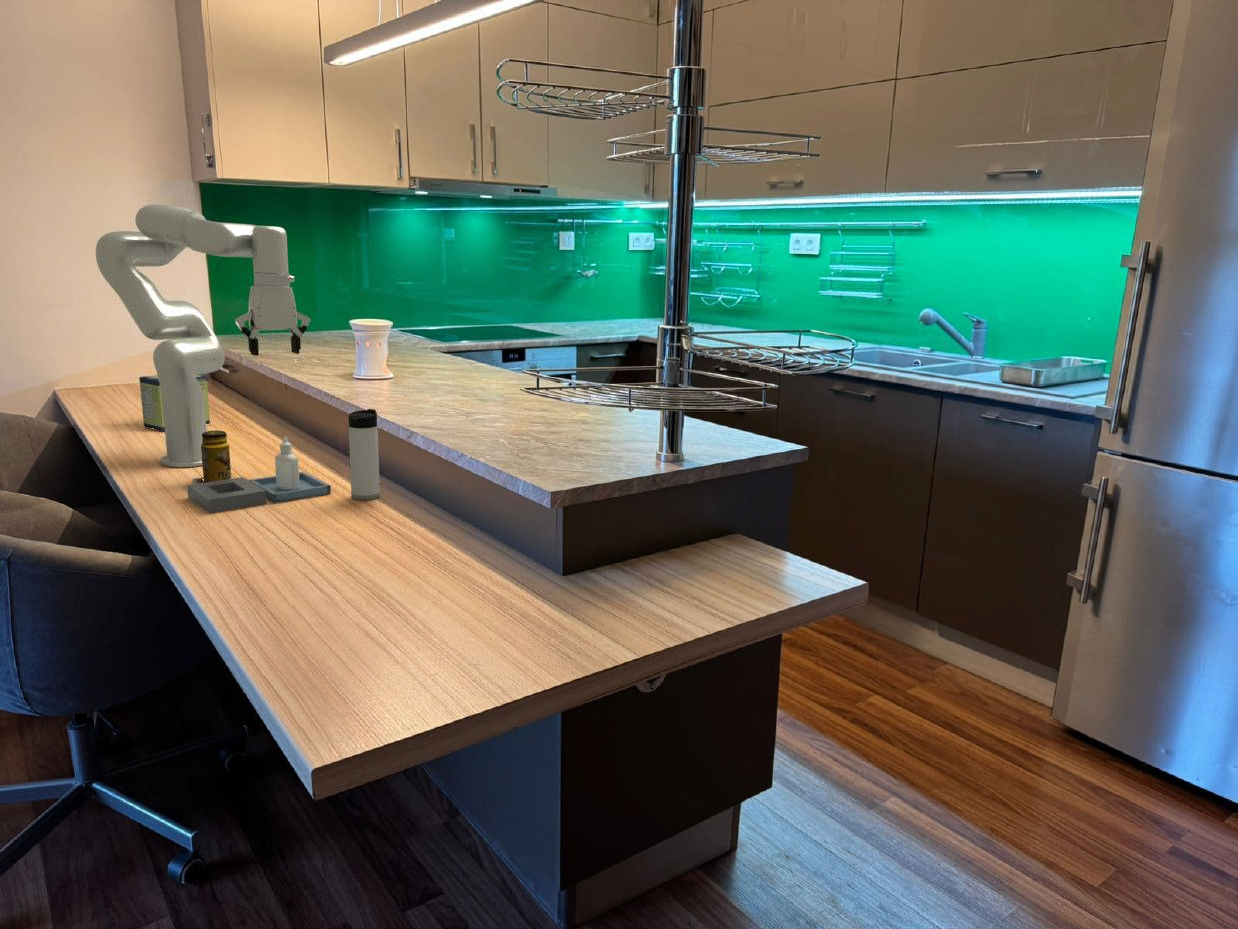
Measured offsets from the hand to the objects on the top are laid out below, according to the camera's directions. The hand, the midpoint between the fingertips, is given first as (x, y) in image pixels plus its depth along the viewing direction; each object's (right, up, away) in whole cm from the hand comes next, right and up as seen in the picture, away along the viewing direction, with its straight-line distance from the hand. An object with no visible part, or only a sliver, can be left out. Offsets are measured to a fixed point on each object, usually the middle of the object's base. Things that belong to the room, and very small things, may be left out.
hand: (275, 354), depth 202 cm
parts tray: (+5, -33, -5) cm, 33 cm away
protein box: (-53, -15, +57) cm, 79 cm away
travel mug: (+24, -34, -7) cm, 42 cm away
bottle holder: (-5, -34, -14) cm, 38 cm away
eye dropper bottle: (+5, -32, -5) cm, 33 cm away
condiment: (-15, -31, 0) cm, 34 cm away
